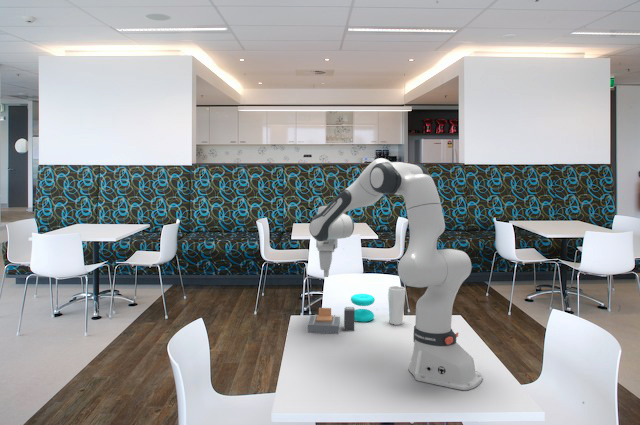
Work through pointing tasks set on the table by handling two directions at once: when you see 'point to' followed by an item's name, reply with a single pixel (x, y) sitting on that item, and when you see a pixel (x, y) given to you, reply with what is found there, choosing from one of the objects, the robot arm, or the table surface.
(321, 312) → the block
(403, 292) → the drinking glass
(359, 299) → the donuts
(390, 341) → the table surface
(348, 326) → the plug
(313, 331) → the socket plate
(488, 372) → the table surface
